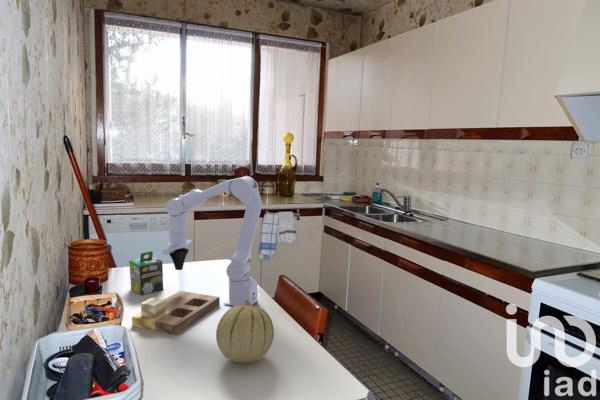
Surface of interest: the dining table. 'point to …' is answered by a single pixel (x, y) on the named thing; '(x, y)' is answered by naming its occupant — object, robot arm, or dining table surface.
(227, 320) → the cantaloupe
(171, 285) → the dining table surface
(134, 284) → the chalk box
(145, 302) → the maple block
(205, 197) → the robot arm
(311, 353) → the dining table surface
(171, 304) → the board
